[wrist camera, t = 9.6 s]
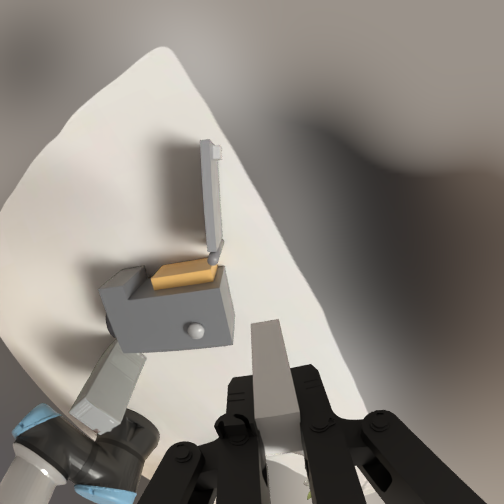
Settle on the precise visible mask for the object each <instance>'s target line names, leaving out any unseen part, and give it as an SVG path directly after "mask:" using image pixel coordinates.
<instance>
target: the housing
mask: <svg viewBox="0 0 504 504" xmlns="http://www.w3.org/2000/svg"><path fill="white" fill-rule="evenodd" d="M223 245H224V240H223V239H221V242H220V244H219V247H218V250H217V252H210V254H209V256H208V258H203V259H198V260H192V261H186V262H180V263H174V264H168V265H163V266H162V267H161V268H160V269H159V270H158V271H157V272H156V273H155V275H154V276H153V277H152V278H147V274H146V271H145V267H144V266H140V267H134V268H129V269H123V270H121V271H120V272H118V273H117V274H116V275H115V276H113V277H112V278H111V279H110V280H109V281H107V282H106V283H105V284H104V285H103V286H101V287H100V288H99V289H98V291H99V294H100V297H101V300H102V302H103V305H104V308H105V311H106V324H107V328H108V331H109V333H110V334H111V335H112V336H113V337H114V338H117V340H118V343H119V345H120V347H121V350H122V352H123V353H149V352H166V351H179V350H191V349H202V348H211V347H220V346H228V345H233V339H234V324H235V313H234V308H233V303H232V299H231V294H230V290H229V285H228V280H227V275H226V270H225V266H222V267H218V266H217V263H218V260H219V257H220V254H221V251H222V248H223Z"/></svg>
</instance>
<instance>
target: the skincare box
mask: <svg viewBox="0 0 504 504" xmlns="http://www.w3.org/2000/svg"><path fill="white" fill-rule="evenodd" d="M145 361H146V357H145V356H143V355H142V354H141V353H123V352H122V350H121V347H120V345H119V343H118V340H117V339H116V340H115V341H114V342H113V343H112V344H111V345H110V347H109V348H108V349H107V350H106V351H105V353H104V354H103V355H102V357H101V358H100V360H99V362H98V363H97V365H96V367H95V368H94V370H93V372H92V373H91V375H90V377H89V378H88V380H87V382H86V383H85V385H84V387H83V389H82V390H81V392H80V394H79V396H78V397H77V399H76V401H75V403H74V404H73V406H72V408H71V410H70V411H69V413H70V414H71V415H72V416H74V417H75V418H76V419H78V420H79V421H81V422H82V423H83V424H85V425H86V426H87V427H89V428H90V429H92V430H93V431H95V432H96V433H98V434H99V435H101V434H103V433H105V432H107V431H108V432H109V431H111V430H112V428H114V427H116V426H117V425H119V424H120V423H121V421H122V419H123V416H124V413H125V411H126V408H127V405H128V403H129V400H130V398H131V395H132V393H133V390H134V388H135V385H136V383H137V380H138V378H139V375H140V373H141V370H142V368H143V366H144V363H145Z"/></svg>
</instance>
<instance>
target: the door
mask: <svg viewBox="0 0 504 504" xmlns="http://www.w3.org/2000/svg"><path fill="white" fill-rule="evenodd" d="M200 152H201V171H202V188H203V203H204V216H205V229H206V240H207V251H208V252H217V250H218V247H219V244H220V242H221V239H222V237H223V234H222V219H221V204H220V188H219V170H218V160H222V147H221V146H220V145H214V144H213V143H212V141H211V140H210V139H207V140H200Z"/></svg>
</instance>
